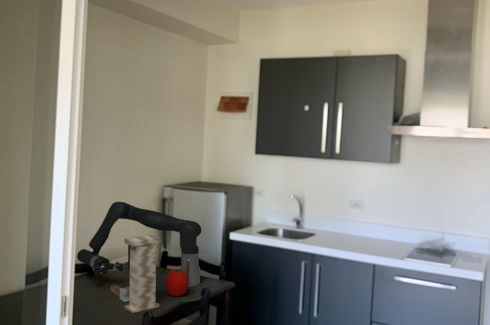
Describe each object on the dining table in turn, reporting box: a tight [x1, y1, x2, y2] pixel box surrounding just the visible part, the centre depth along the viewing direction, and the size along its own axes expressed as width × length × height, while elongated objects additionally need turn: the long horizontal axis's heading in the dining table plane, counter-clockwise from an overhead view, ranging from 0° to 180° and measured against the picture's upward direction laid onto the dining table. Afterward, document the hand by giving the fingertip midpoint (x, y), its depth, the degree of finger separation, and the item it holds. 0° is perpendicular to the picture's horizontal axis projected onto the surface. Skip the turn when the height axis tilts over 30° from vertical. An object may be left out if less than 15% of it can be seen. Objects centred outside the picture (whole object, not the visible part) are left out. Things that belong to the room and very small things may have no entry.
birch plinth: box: [123, 234, 161, 314], centre depth 238 cm, size 14×8×32 cm, turn 130°
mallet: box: [110, 284, 130, 303], centre depth 255 cm, size 6×19×5 cm, turn 39°
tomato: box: [165, 268, 189, 297], centre depth 256 cm, size 12×12×13 cm
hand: (114, 270), depth 259 cm, fingers open, 8 cm apart
